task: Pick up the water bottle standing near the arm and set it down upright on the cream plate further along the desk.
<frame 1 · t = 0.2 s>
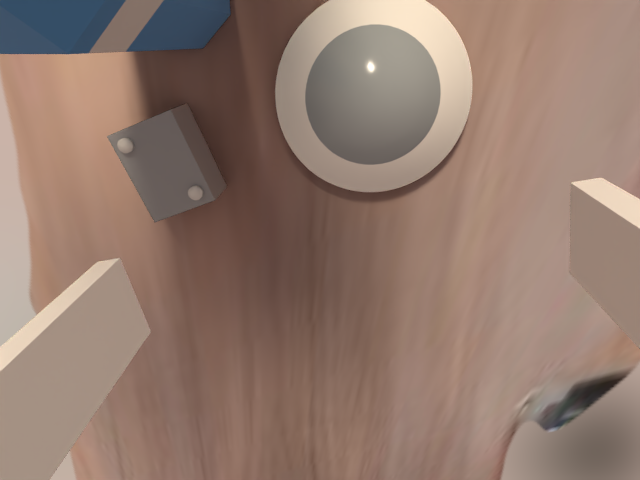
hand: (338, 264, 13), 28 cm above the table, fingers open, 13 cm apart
cream plate: (371, 96, 38), on the table
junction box: (179, 157, 42), on the table
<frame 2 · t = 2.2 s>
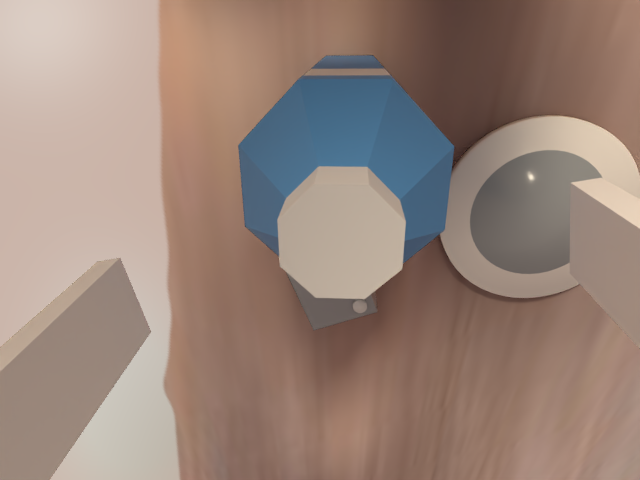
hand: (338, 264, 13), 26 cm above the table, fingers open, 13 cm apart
cream plate: (532, 210, 39), on the table
water bottle: (348, 112, 37), on the table
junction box: (330, 262, 42), on the table
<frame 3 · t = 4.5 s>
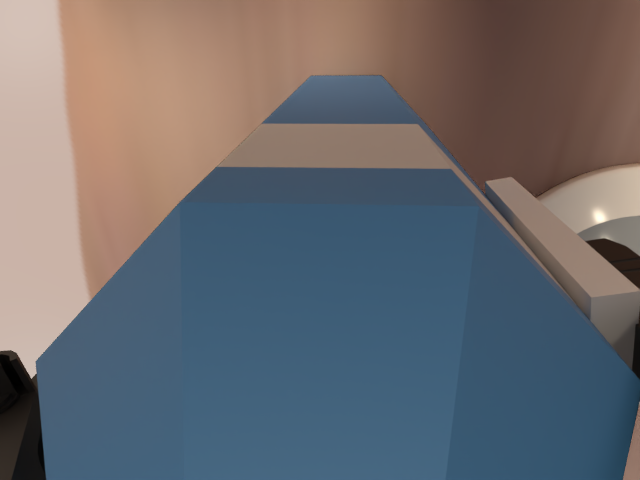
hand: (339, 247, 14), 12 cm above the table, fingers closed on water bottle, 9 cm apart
cream plate: (608, 294, 27), on the table
water bottle: (345, 158, 25), on the table, touching gripper
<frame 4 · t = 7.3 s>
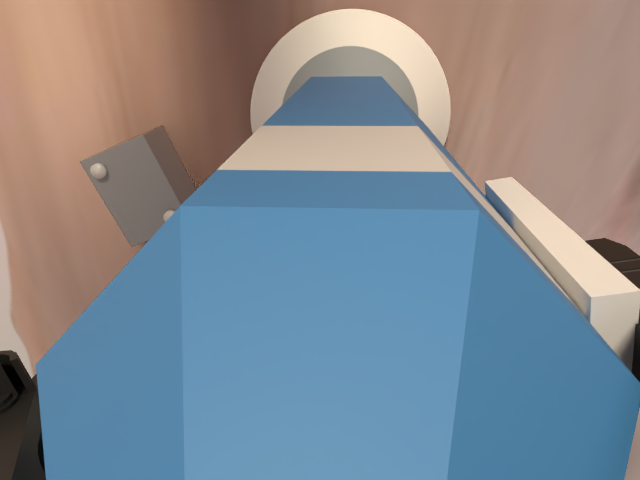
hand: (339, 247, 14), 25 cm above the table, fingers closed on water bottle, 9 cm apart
cream plate: (349, 117, 38), on the table
water bottle: (345, 158, 25), point 14 cm above the table, touching gripper
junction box: (155, 179, 41), on the table
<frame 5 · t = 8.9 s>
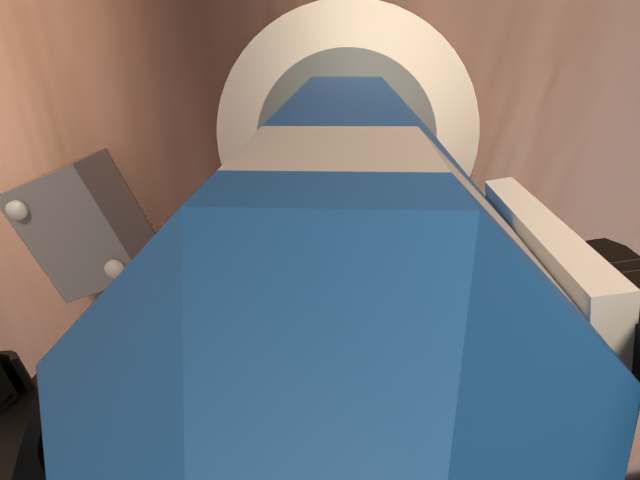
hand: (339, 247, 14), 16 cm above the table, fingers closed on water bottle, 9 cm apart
cream plate: (345, 140, 29), on the table
water bottle: (345, 159, 25), point 4 cm above the table, touching gripper
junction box: (101, 215, 32), on the table
when the fingers open (14 cm above the table, at t = 10.3 s): water bottle drops 1 cm, resting on cream plate.
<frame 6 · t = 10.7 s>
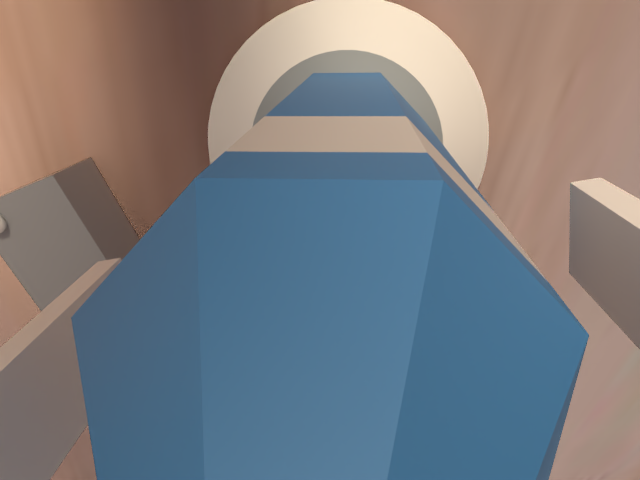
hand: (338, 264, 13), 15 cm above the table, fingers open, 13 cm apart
cream plate: (345, 148, 27), on the table
water bottle: (345, 152, 26), point 1 cm above the table, touching cream plate
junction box: (86, 228, 31), on the table
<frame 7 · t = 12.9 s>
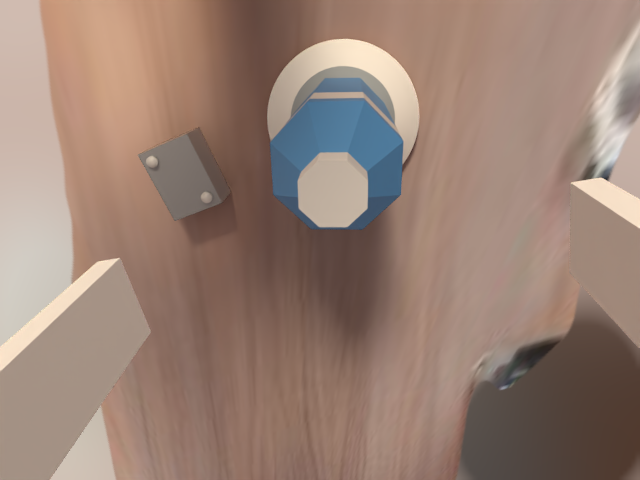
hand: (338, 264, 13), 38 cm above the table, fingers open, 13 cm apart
cream plate: (342, 119, 49), on the table
water bottle: (342, 121, 48), point 1 cm above the table, touching cream plate
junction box: (192, 169, 52), on the table
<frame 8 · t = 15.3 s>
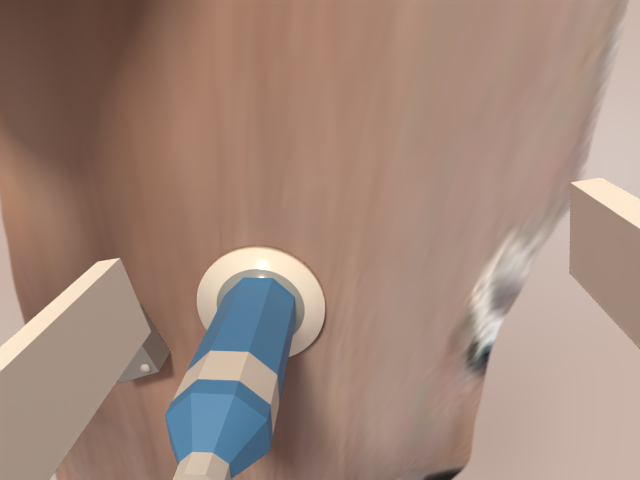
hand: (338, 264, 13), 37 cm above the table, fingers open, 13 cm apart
cream plate: (262, 303, 57), on the table
water bottle: (260, 307, 56), point 1 cm above the table, touching cream plate
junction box: (136, 334, 61), on the table
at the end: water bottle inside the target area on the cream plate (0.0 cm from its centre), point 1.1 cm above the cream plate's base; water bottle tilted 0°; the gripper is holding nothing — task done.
